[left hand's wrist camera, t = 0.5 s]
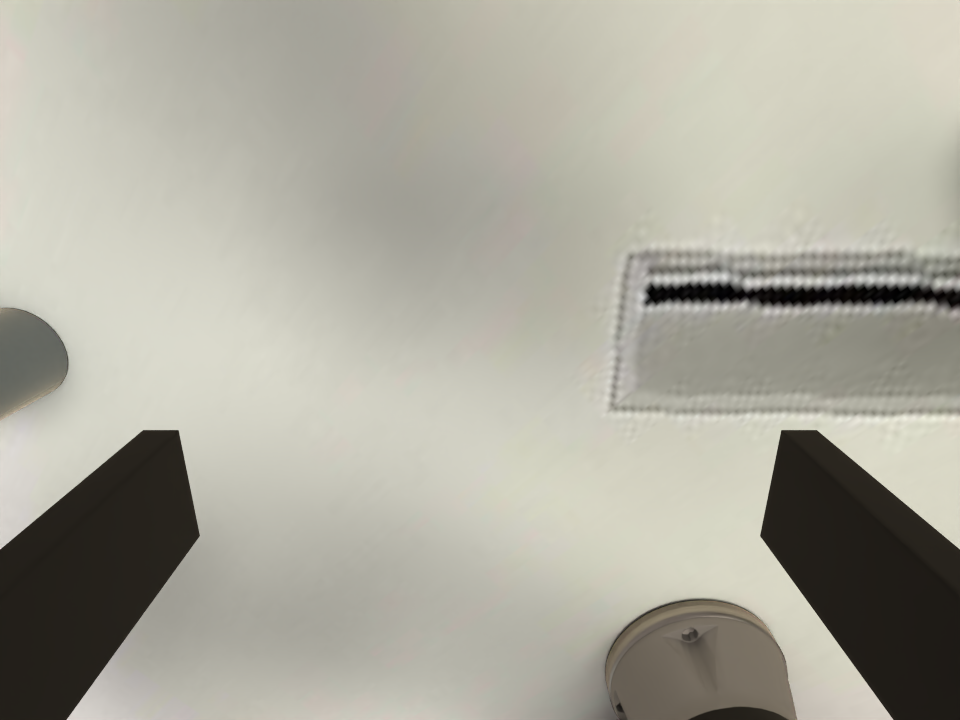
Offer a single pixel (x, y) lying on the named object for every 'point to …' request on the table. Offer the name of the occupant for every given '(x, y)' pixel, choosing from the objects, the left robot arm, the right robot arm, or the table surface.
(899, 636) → the left robot arm
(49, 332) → the bottle
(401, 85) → the table surface
